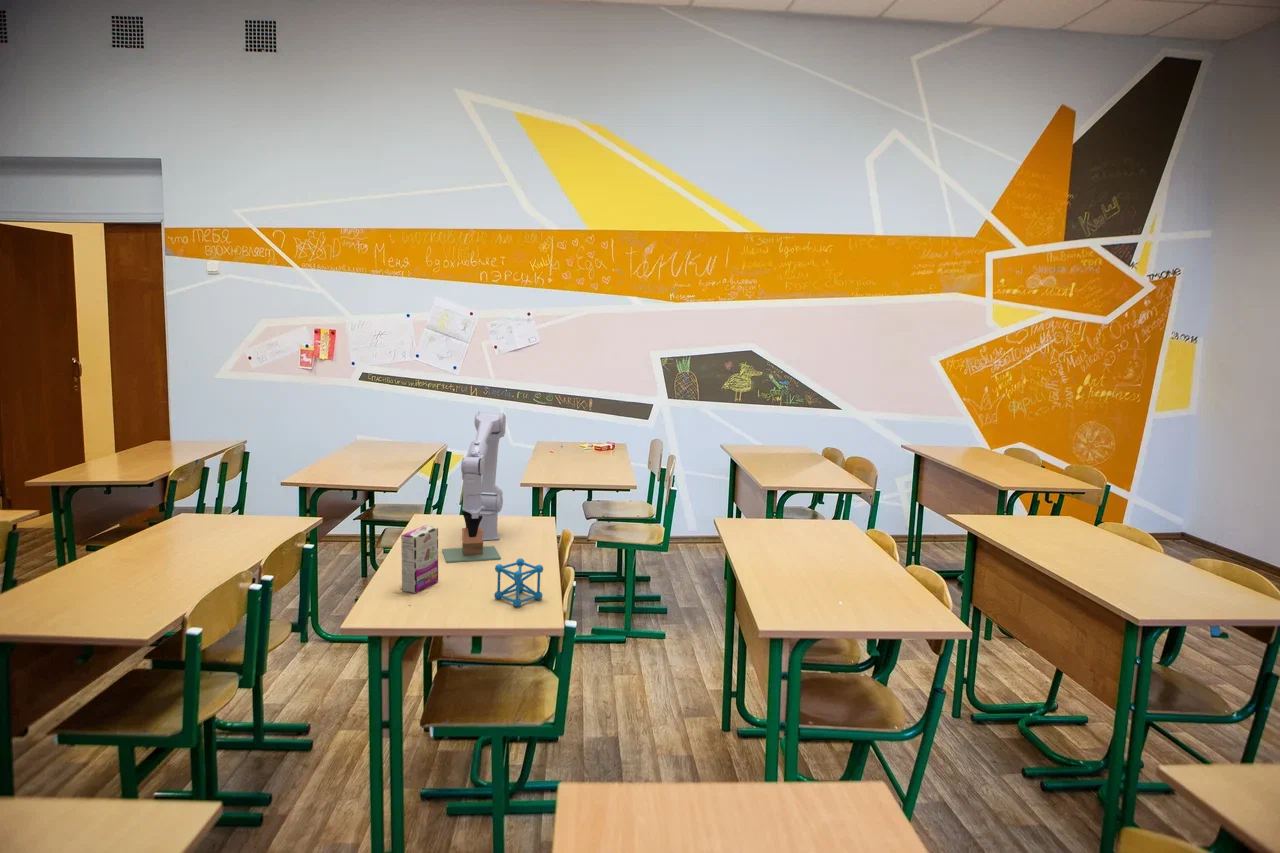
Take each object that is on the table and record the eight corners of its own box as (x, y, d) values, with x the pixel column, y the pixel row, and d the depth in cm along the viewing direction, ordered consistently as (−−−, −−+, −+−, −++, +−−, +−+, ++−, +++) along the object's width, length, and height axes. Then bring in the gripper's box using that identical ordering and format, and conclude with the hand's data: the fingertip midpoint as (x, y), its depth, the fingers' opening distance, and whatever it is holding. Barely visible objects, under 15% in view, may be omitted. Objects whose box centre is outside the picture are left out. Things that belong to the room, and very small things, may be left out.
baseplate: (442, 550, 250) (442, 549, 250) (494, 547, 256) (494, 545, 256) (446, 563, 238) (446, 561, 238) (501, 559, 244) (501, 557, 244)
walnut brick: (462, 551, 248) (462, 540, 247) (480, 550, 250) (481, 539, 249) (463, 555, 244) (464, 543, 244) (482, 554, 246) (483, 542, 246)
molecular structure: (519, 590, 217) (520, 556, 216) (544, 599, 211) (545, 564, 210) (492, 599, 210) (493, 564, 208) (516, 609, 204) (517, 572, 202)
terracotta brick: (462, 540, 247) (462, 528, 247) (480, 539, 249) (480, 527, 249) (463, 543, 244) (463, 531, 243) (482, 542, 246) (482, 530, 245)
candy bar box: (424, 579, 223) (424, 524, 220) (438, 581, 221) (439, 527, 219) (400, 591, 212) (400, 534, 210) (415, 594, 211) (416, 536, 208)
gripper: (488, 498, 239) (487, 540, 241) (481, 488, 252) (480, 528, 254) (465, 499, 236) (464, 541, 238) (459, 488, 250) (459, 529, 252)
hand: (471, 534), depth 246 cm, fingers open, 4 cm apart
